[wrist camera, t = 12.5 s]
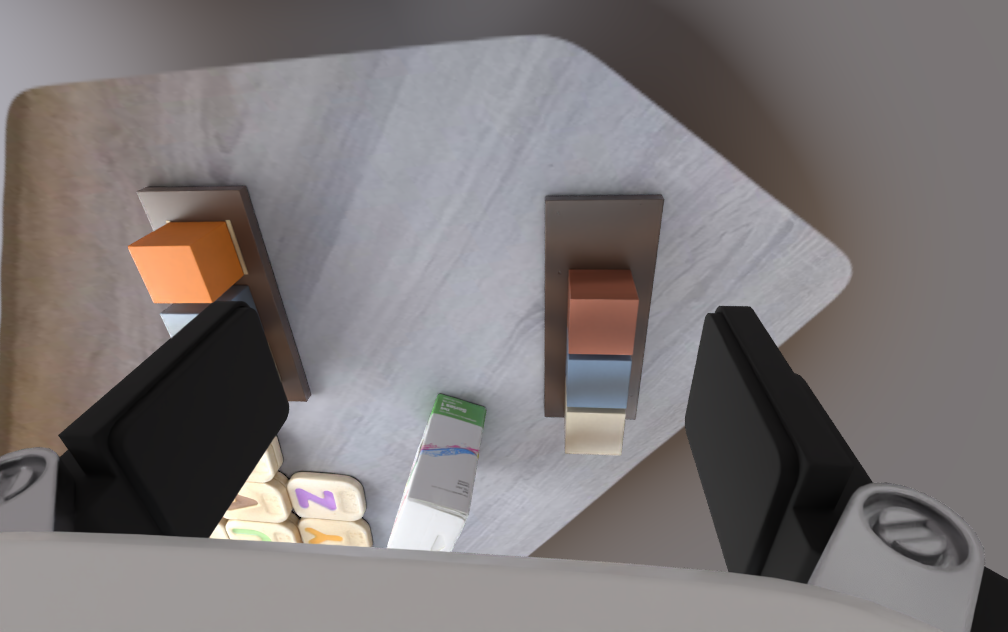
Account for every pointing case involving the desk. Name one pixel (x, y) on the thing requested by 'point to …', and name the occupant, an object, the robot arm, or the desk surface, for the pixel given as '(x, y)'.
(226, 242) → the orange cube
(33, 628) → the robot arm
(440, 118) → the desk surface
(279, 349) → the tray of colored blocks
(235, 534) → the alphabet tiles
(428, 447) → the ink box
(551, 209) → the colored cube rack
